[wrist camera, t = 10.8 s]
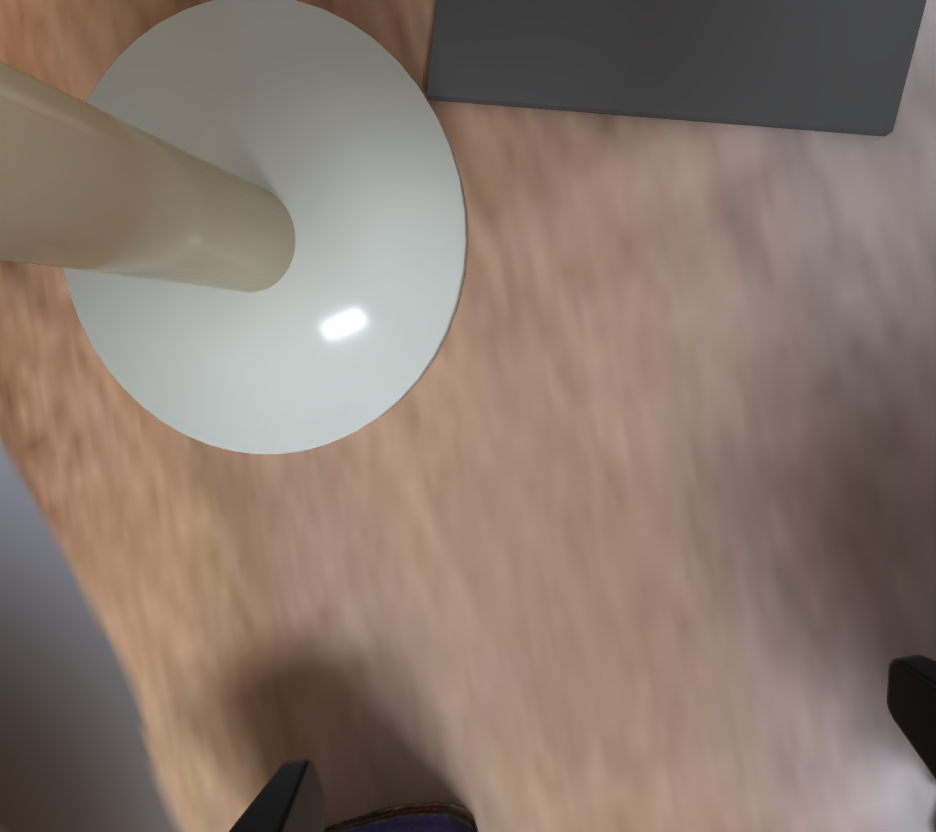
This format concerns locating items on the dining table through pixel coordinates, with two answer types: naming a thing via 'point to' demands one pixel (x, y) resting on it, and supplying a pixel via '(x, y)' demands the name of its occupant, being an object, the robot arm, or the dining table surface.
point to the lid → (244, 221)
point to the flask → (412, 820)
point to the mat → (682, 59)
